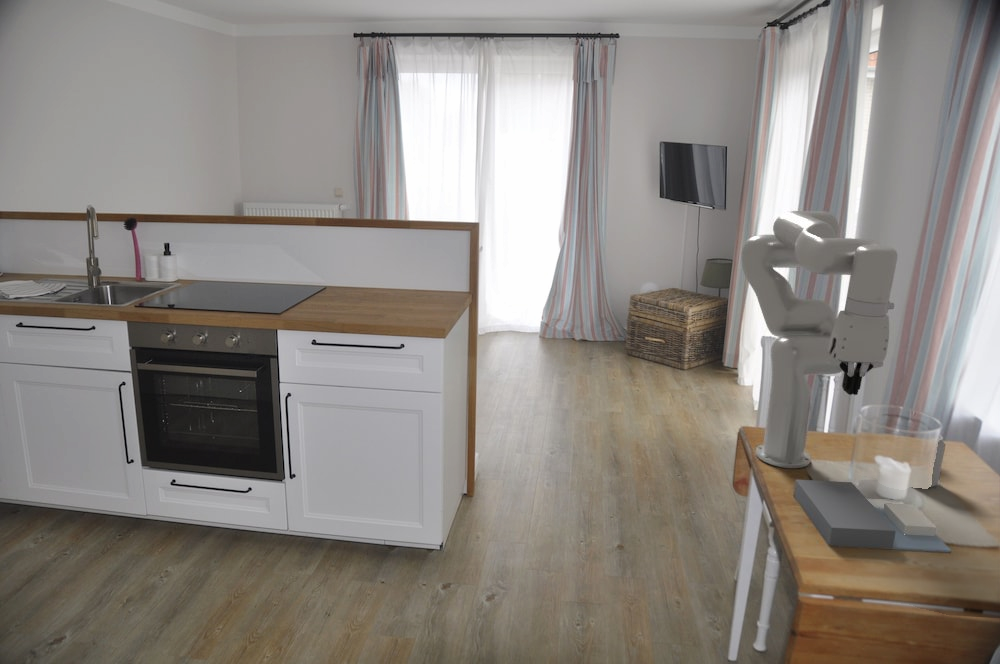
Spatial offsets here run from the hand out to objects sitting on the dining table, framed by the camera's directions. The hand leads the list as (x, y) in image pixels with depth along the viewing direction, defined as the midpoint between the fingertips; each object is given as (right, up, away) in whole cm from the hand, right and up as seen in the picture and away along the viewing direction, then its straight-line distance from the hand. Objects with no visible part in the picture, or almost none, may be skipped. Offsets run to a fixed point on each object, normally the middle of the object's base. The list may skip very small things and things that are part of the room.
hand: (850, 392), depth 144 cm
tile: (+11, -25, -2) cm, 27 cm away
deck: (-2, -27, 0) cm, 27 cm away
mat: (+9, -27, -1) cm, 29 cm away
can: (+25, -23, +17) cm, 38 cm away
